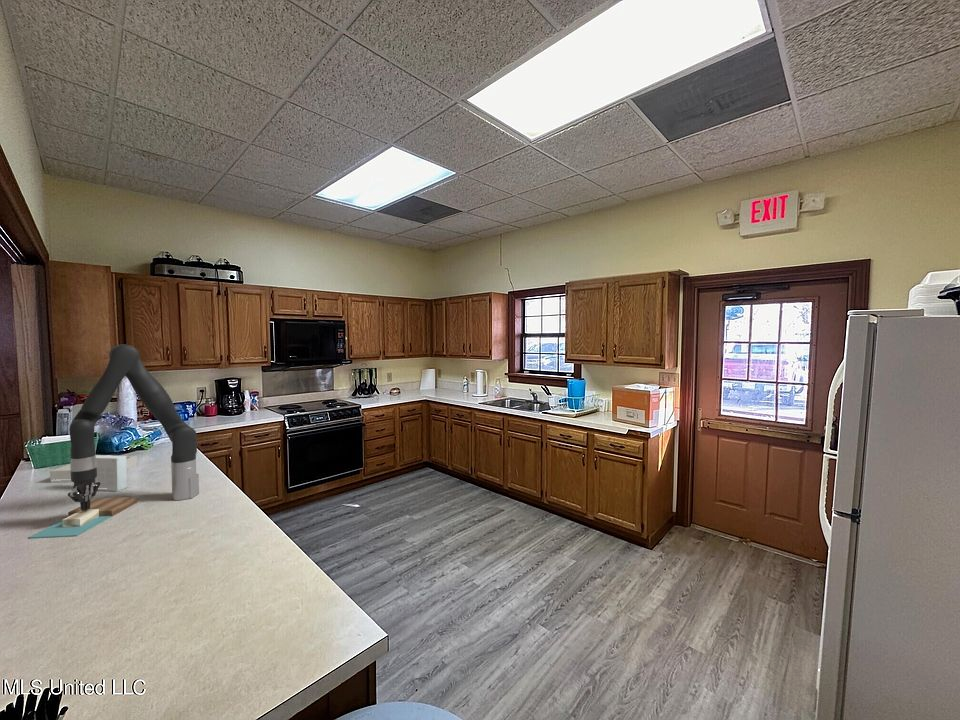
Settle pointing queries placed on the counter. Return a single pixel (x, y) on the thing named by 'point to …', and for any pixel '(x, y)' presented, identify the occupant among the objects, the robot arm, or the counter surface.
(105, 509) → the brown flat block
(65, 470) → the white stepped block
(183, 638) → the counter surface
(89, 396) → the robot arm
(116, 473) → the skincare box
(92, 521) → the mat
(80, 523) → the beige block
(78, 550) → the counter surface
